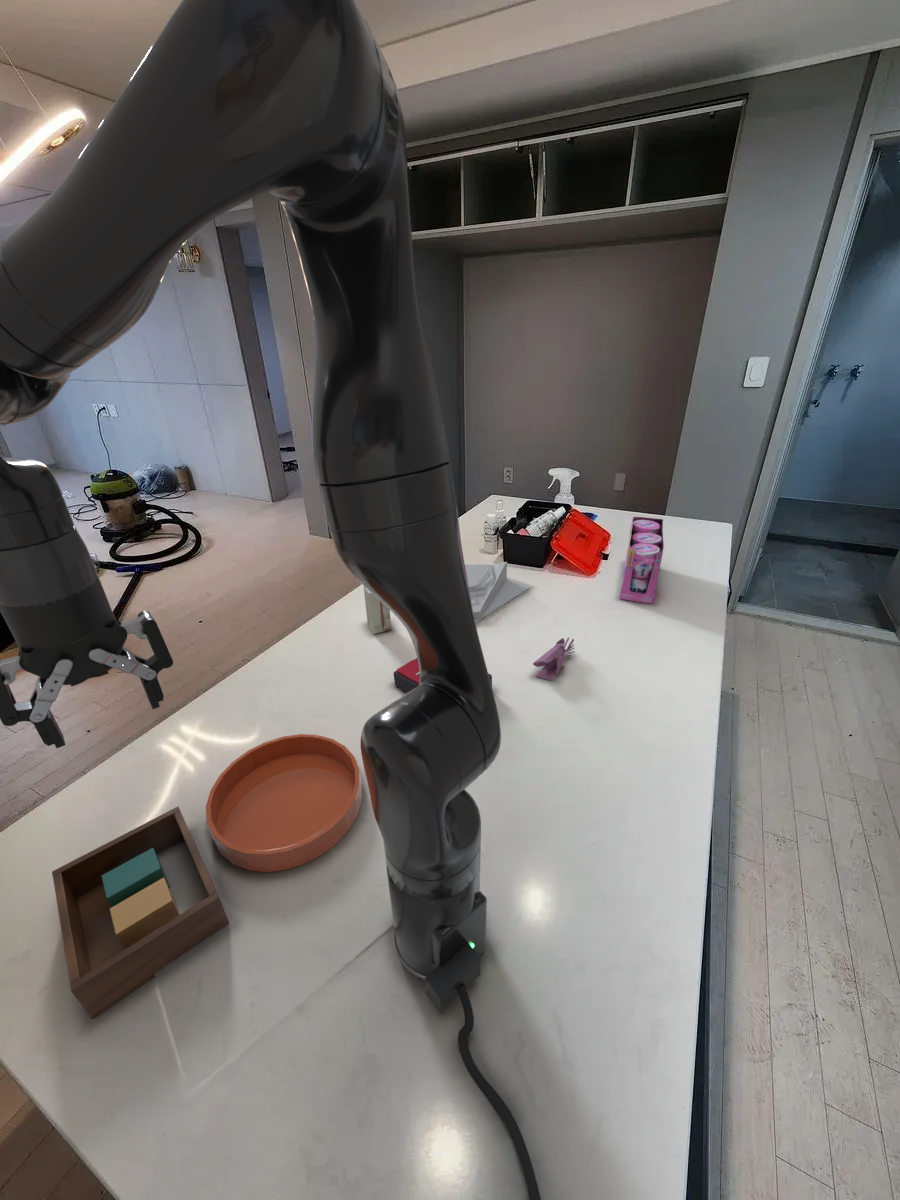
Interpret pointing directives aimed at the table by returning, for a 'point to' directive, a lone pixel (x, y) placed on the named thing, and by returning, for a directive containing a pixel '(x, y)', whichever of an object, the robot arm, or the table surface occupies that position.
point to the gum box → (642, 560)
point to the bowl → (284, 802)
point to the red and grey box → (411, 676)
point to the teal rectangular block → (132, 877)
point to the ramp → (490, 588)
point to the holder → (88, 926)
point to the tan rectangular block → (143, 913)
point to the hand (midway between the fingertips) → (110, 722)
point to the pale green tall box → (376, 613)
